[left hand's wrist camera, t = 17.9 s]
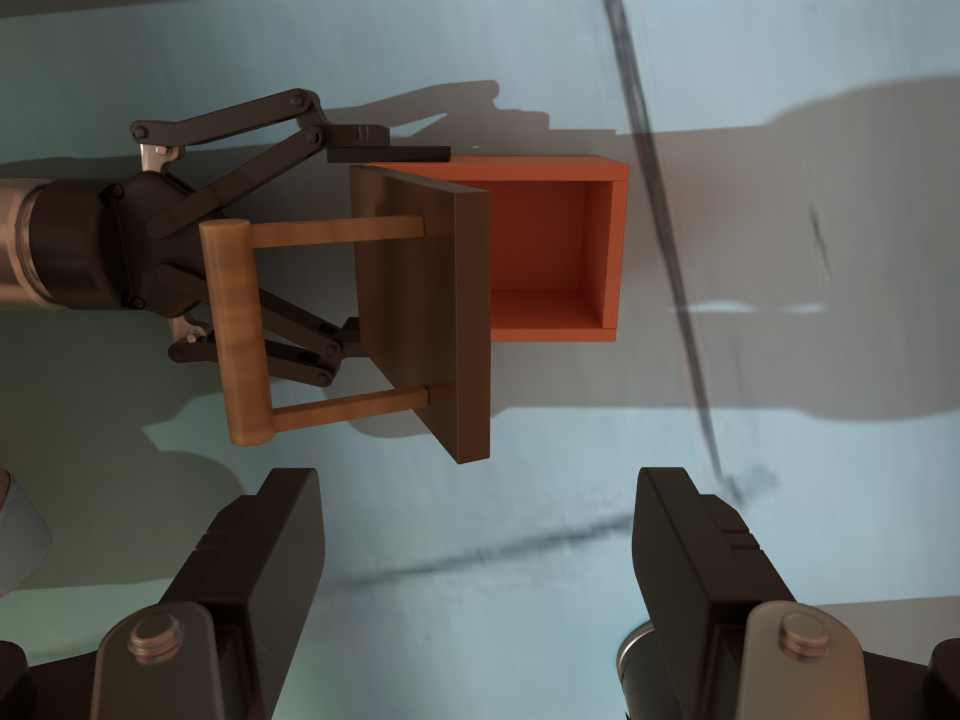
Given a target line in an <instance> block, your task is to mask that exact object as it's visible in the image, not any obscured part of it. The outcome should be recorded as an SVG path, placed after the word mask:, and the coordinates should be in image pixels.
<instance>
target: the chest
mask: <svg viewBox="0 0 960 720" xmlns="http://www.w3.org/2000/svg"><path fill="white" fill-rule="evenodd" d="M365 165H375V166H379V167H384V168H388V169H393V170H397V171H402V172H406V173H411V174H415V175H420V176H424V177H429V178H433V179H438V180H442V181H447V182H451V183H455V184H460V185H464V186H469V187H473V188H478V189H482V190H487V191H491V192H492V241H491V341H508V342H614V341H615V340H616V328H617V318H618V305H619V292H620V279H621V266H622V254H623V241H624V228H625V215H626V202H627V190H628V176H629V165H627V164H623V163H620V162H616V161H613V160H609V159H606V158H602V157H600V156H597V155H451V160H450V161H449V162H371V163H368V164H365Z"/></svg>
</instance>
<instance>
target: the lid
mask: <svg viewBox="0 0 960 720" xmlns="http://www.w3.org/2000/svg"><path fill="white" fill-rule="evenodd" d="M349 172H350V188H351V203H352V218H349V219H331V220H313V221H295V222H277V223H259V224H251V223H250V221H248V220H244V219H217V220H209V221H204V222H201V223H200V224H199V230H200V237H201V244H202V251H203V257H204V264H205V271H206V278H207V285H208V292H209V298H210V305H211V312H212V319H213V326H214V333H215V339H216V346H217V353H218V360H219V367H220V374H221V380H222V387H223V394H224V401H225V408H226V415H227V421H228V428H229V435H230V440H231V442H232V443H233V444H235V445H238V446H256V445H260V444H263V443H266V442H268V441H270V440H271V439H272V438H273V437H274V436H275V433H277V432H282V431H288V430H294V429H299V428H305V427H311V426H317V425H322V424H328V423H334V422H340V421H345V420H351V419H357V418H362V417H368V416H374V415H380V414H385V413H391V412H397V411H402V410H408V409H413V411H414V412H415V413H416V414H417V415H418V417H419V418H420V419H421V420H422V421H423V423H424V424H425V425H426V426H427V428H428V429H429V430H430V431H431V432H432V434H433V435H434V436H435V437H436V438H437V440H438V441H439V442H440V443H441V444H442V446H443V447H444V448H445V449H446V451H447V452H448V453H449V454H450V455H451V457H452V458H453V459H454V460H455V461H456V463H457V464H463V463H468V462H473V461H477V460H482V459H487V458H490V367H491V241H492V192H491V191H487V190H482V189H478V188H473V187H469V186H464V185H460V184H455V183H451V182H447V181H442V180H438V179H433V178H429V177H424V176H420V175H415V174H411V173H406V172H402V171H397V170H393V169H388V168H384V167H379V166H375V165H361V166H349ZM353 241H354V249H355V264H356V280H357V295H358V310H359V326H360V341H361V348H362V349H363V350H364V351H365V353H366V354H367V355H368V356H369V357H370V359H371V360H372V361H373V362H374V363H375V365H376V366H377V367H378V368H379V369H380V371H381V372H382V373H383V374H384V376H385V377H386V378H387V379H388V380H389V382H390V383H391V384H392V385H393V386H394V388H395V389H393V390H387V391H381V392H375V393H368V394H362V395H356V396H350V397H343V398H337V399H331V400H325V401H319V402H312V403H306V404H300V405H294V406H288V407H281V408H275V409H273V407H272V399H271V390H270V382H269V374H268V365H267V357H266V348H265V340H264V332H263V323H262V315H261V306H260V298H259V289H258V281H257V273H256V264H255V256H254V248H267V247H281V246H296V245H310V244H325V243H339V242H353Z"/></svg>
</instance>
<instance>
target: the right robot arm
mask: <svg viewBox="0 0 960 720" xmlns="http://www.w3.org/2000/svg"><path fill="white" fill-rule="evenodd" d="M294 118H296V119H297V121H298V124H299V126H300V128H301V130H300V131H299V132H297V133H295V134H294V135H292V136H290V137H289V138H287V139H285V140H284V141H282V142H280V143H279V144H277V145H275V146H274V147H272V148H270V149H269V150H267V151H265V152H264V153H262V154H260V155H259V156H257V157H255V158H254V159H252V160H250V161H249V162H247V163H245V164H244V165H242V166H240V167H239V168H237V169H235V170H234V171H232V172H230V173H229V174H227V175H225V176H224V177H222V178H220V179H219V180H217V181H215V182H214V183H212V184H210V185H207V186H205V187H203V188H202V189H200V190H198V191H196V190H195V189H193V188H192V187H190V186H189V185H187V184H186V183H184V182H183V181H181V180H180V179H178V178H177V177H175V176H174V175H172V174H171V173H169V172H168V166H169V164H170V163H171V162H172V161H175V160H180V159H181V158H183V157H184V155H185V146H191V145H201V144H205V143H209V142H213V141H216V140H220V139H223V138H227V137H231V136H234V135H238V134H241V133H245V132H248V131H252V130H255V129H259V128H262V127H266V126H269V125H273V124H277V123H280V122H284V121H287V120H291V119H294ZM130 135H131V137H132V138H133V140H134V141H136V142H137V143H139V144H140V146H141V159H142V171H141V172H139V173H137V174H136V175H135V176H133V177H131V178H125V179H68V178H66V179H58V180H55V181H52V180H49V179H46V178H0V310H63V309H67V308H70V309H73V310H148V311H152V312H154V313H157V314H159V315H161V316H163V317H166V318H168V322H169V326H170V330H171V333H172V337H173V341H174V344H172V345H171V346H170V347H169V349H168V355H169V357H170V359H171V360H173V361H174V362H177V363H184V362H195V361H206V360H208V361H212V362H217V363H219V360H218V353H217V346H216V339H215V333H214V330H212V329H211V325H210V324H208V323H205V322H201V321H197V320H195V319H194V318H193V317H192V316H191V314H190V312H189V311H191V310H192V309H193V308H194V307H196V306H197V305H198V304H200V303H201V302H204V303H206V304H208V305H210V298H209V292H208V285H207V278H206V271H205V264H204V257H203V251H202V244H201V237H200V230H199V224H200V223H201V222H204V221H209V220H217V219H228V216H224V214H223V212H222V210H223V209H225V208H226V207H228V206H230V205H231V204H233V203H235V202H236V201H238V200H240V199H241V198H242V197H244V196H245V195H247V194H249V193H250V192H252V191H254V190H255V189H257V188H259V187H261V186H262V185H264V184H266V183H267V182H269V181H271V180H272V179H274V178H276V177H278V176H279V175H281V174H283V173H284V172H286V171H288V170H289V169H291V168H293V167H294V166H296V165H298V164H300V163H301V162H303V161H305V160H306V159H308V158H310V157H311V156H313V155H315V154H317V153H318V152H320V151H322V150H323V149H325V148H327V160H328V163H371V162H449V161H450V160H451V146H390V130H389V128H387V127H384V126H382V125H337V124H333V123H331V122H330V121H328V119H327V118H326V117H325V115H324V113H323V110H322V108H321V105H320V99H319V97H318V95H317V94H316V93H315V92H313V91H310V90H305V89H300V88H296V89H291V90H288V91H284V92H281V93H277V94H274V95H270V96H267V97H263V98H260V99H256V100H253V101H249V102H246V103H242V104H239V105H235V106H232V107H228V108H225V109H222V110H218V111H215V112H211V113H208V114H204V115H201V116H197V117H194V118H190V119H187V120H183V121H180V122H170V121H149V120H140V121H135V122H133V123H132V124H131V126H130ZM258 289H259V298H260V306H261V315H262V323H263V328H265V329H267V330H270V331H272V332H274V333H276V334H278V335H280V336H282V337H284V338H286V339H288V340H290V341H292V342H294V343H296V344H298V345H300V346H303V347H305V348H307V349H309V350H307V349H302V348H298V347H294V346H290V345H286V344H282V343H278V342H273V341H269V340H265V339H264V340H265V348H266V357H267V365H268V374H269V375H272V376H276V377H280V378H284V379H289V380H293V381H297V382H301V383H306V384H310V385H314V386H318V387H327V386H329V385H330V384H331V383H332V381H333V379H334V378H335V376H336V374H337V372H338V371H339V369H340V364H341V361H342V359H344V358H346V357H369V356H368V355H367V354H366V353H365V351H364V350H363V349H362V348H361V341H360V326H359V317H349V318H348V320H347V321H346V323H345V324H344V325H343V327H342V328H339V327H337V326H335V325H333V324H331V323H329V322H327V321H325V320H323V319H321V318H319V317H317V316H315V315H313V314H311V313H309V312H307V311H305V310H303V309H301V308H299V307H297V306H295V305H293V304H291V303H289V302H287V301H285V300H283V299H281V298H279V297H277V296H275V295H273V294H271V293H268V292H266V291H264V290H262V289H260V288H258ZM210 306H211V305H210ZM51 541H52V535H51V531H50V529H49V527H48V525H47V524H46V522H45V521H44V519H43V518H42V517H41V515H40V514H39V513H38V511H37V510H36V508H35V507H34V506H33V504H32V503H31V502H30V500H29V499H28V497H27V496H26V495H25V493H24V492H23V491H22V489H21V488H20V486H19V485H18V484H17V481H16V479H15V476H14V475H12V474H11V473H10V472H9V471H8V470H5V471H4V469H3V468H2V467H1V466H0V598H2V597H3V596H5V595H7V594H9V593H10V592H11V591H12V590H14V589H15V588H16V587H17V586H18V585H19V584H20V583H21V582H23V581H24V580H25V579H26V578H27V577H28V576H29V575H30V574H31V573H32V572H33V571H34V570H35V569H36V568H37V567H38V566H39V564H40V563H41V562H42V560H43V559H44V558H45V556H46V555H47V553H48V551H49V549H50V546H51Z"/></svg>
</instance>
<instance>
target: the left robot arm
mask: <svg viewBox="0 0 960 720" xmlns="http://www.w3.org/2000/svg"><path fill="white" fill-rule="evenodd" d="M324 558H325V536H324V526H323V516H322V505H321V495H320V485H319V477H318V473H317V470H316V469H315V468H273V469H272V470H271V471H270V473H269V475H268V476H267V478H266V480H265V481H264V483H263V485H262V486H261V488H260V490H259V491H258V493H257V495H242V496H240V497H239V498H237V499H236V500H235V501H233V502H232V503H231V504H229V505H228V506H226V507H225V508H224V509H222V510H221V511H220V512H219V513H218V514H217V516H216V517H215V519H214V520H213V522H212V523H211V525H210V526H209V528H208V529H207V533H206V535H203V537H202V538H201V540H200V541H199V543H198V544H197V546H196V551H193V552H192V553H191V555H190V556H189V558H188V559H187V561H186V562H185V564H184V565H183V567H182V568H181V570H180V571H179V573H178V574H177V576H176V577H175V579H174V580H173V582H172V583H171V585H170V586H169V588H168V589H167V591H166V592H165V594H164V595H163V597H162V598H161V600H160V601H159V603H158V604H154V605H151V606H148V607H145V608H143V609H141V610H138V611H136V612H134V613H133V614H131V615H129V616H127V617H126V618H124V619H123V620H121V621H120V622H119V623H118V624H116V625H115V626H114V627H113V628H112V629H111V630H110V631H109V632H108V633H107V634H106V635H105V637H104V638H103V640H102V641H101V643H100V645H99V647H98V650H96V651H93V652H90V653H87V654H83V655H80V656H75V657H71V658H67V659H63V660H58V661H54V662H50V663H45V664H41V665H37V666H32V667H29V666H28V663H27V659H26V656H25V653H24V651H23V649H22V648H21V647H19V646H18V645H17V644H14V643H12V642H8V641H0V720H271V719H272V716H273V713H274V710H275V707H276V704H277V701H278V699H279V696H280V693H281V690H282V687H283V684H284V681H285V679H286V676H287V673H288V670H289V667H290V664H291V661H292V658H293V656H294V653H295V650H296V647H297V644H298V641H299V638H300V636H301V633H302V630H303V627H304V624H305V621H306V618H307V616H308V613H309V610H310V607H311V604H312V601H313V598H314V596H315V593H316V590H317V587H318V584H319V581H320V578H321V575H322V571H323V566H324ZM632 560H633V567H634V572H635V575H636V578H637V581H638V584H639V587H640V590H641V593H642V596H643V599H644V602H645V605H646V608H647V610H648V613H649V616H650V619H651V621H649V622H647V623H645V624H643V625H641V626H640V627H638V628H637V629H635V630H634V631H633V632H631V633H630V634H629V635H628V636H627V637H626V639H625V640H624V641H623V643H622V644H621V646H620V648H619V651H618V654H617V659H616V667H617V672H618V676H619V680H620V683H621V685H622V689H623V693H624V695H625V699H626V703H627V707H628V711H629V715H630V718H629V716H628V715H627V713H626V712H625V713H626V718H627V720H960V638H954V639H949V640H945V641H943V642H941V643H939V644H938V645H937V646H936V647H935V648H934V650H933V653H932V656H931V659H930V662H929V666H925V665H920V664H916V663H912V662H907V661H903V660H899V659H894V658H890V657H886V656H881V655H877V654H873V653H870V652H866V651H863V650H862V647H861V645H860V643H859V641H858V640H857V638H856V637H855V635H854V634H853V633H852V632H851V631H850V630H849V629H848V628H847V627H846V626H845V625H844V624H842V623H841V622H840V621H839V620H837V619H836V618H834V617H833V616H831V615H829V614H827V613H826V612H824V611H822V610H819V609H817V608H815V607H812V606H809V605H806V604H802V603H798V602H797V601H796V600H795V598H794V597H793V595H792V594H791V592H790V591H789V589H788V588H787V586H786V584H785V583H784V581H783V580H782V578H781V577H780V575H779V574H778V572H777V571H776V569H775V568H774V566H773V565H772V563H771V562H770V560H769V559H768V557H767V556H766V554H765V553H764V551H763V550H760V545H759V544H758V542H757V541H756V539H755V538H754V536H753V535H752V534H750V533H749V529H748V527H747V525H746V524H745V522H744V521H743V519H742V518H741V516H740V515H739V513H738V512H737V511H736V510H735V509H734V508H732V507H731V506H730V505H728V504H727V503H725V502H724V501H723V500H721V499H720V498H719V497H717V496H716V495H714V494H699V492H698V490H697V489H696V487H695V485H694V484H693V482H692V480H691V478H690V477H689V475H688V473H687V472H686V470H685V469H684V468H683V467H642V468H641V469H640V471H639V475H638V481H637V491H636V502H635V512H634V523H633V533H632Z"/></svg>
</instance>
